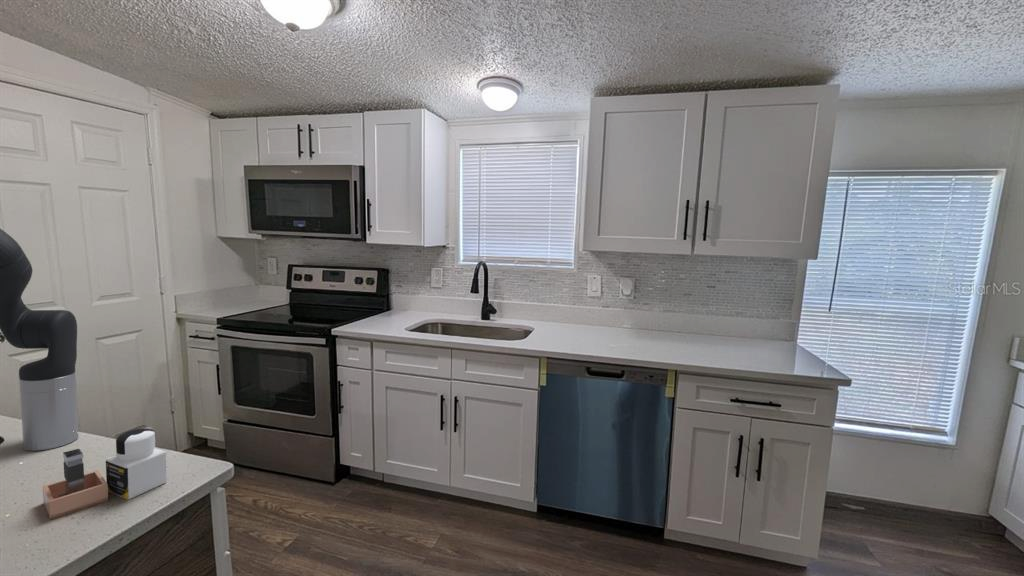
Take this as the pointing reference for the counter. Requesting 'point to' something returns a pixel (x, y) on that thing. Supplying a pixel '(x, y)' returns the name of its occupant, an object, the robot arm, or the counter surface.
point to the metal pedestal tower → (73, 472)
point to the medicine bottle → (135, 464)
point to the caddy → (75, 495)
